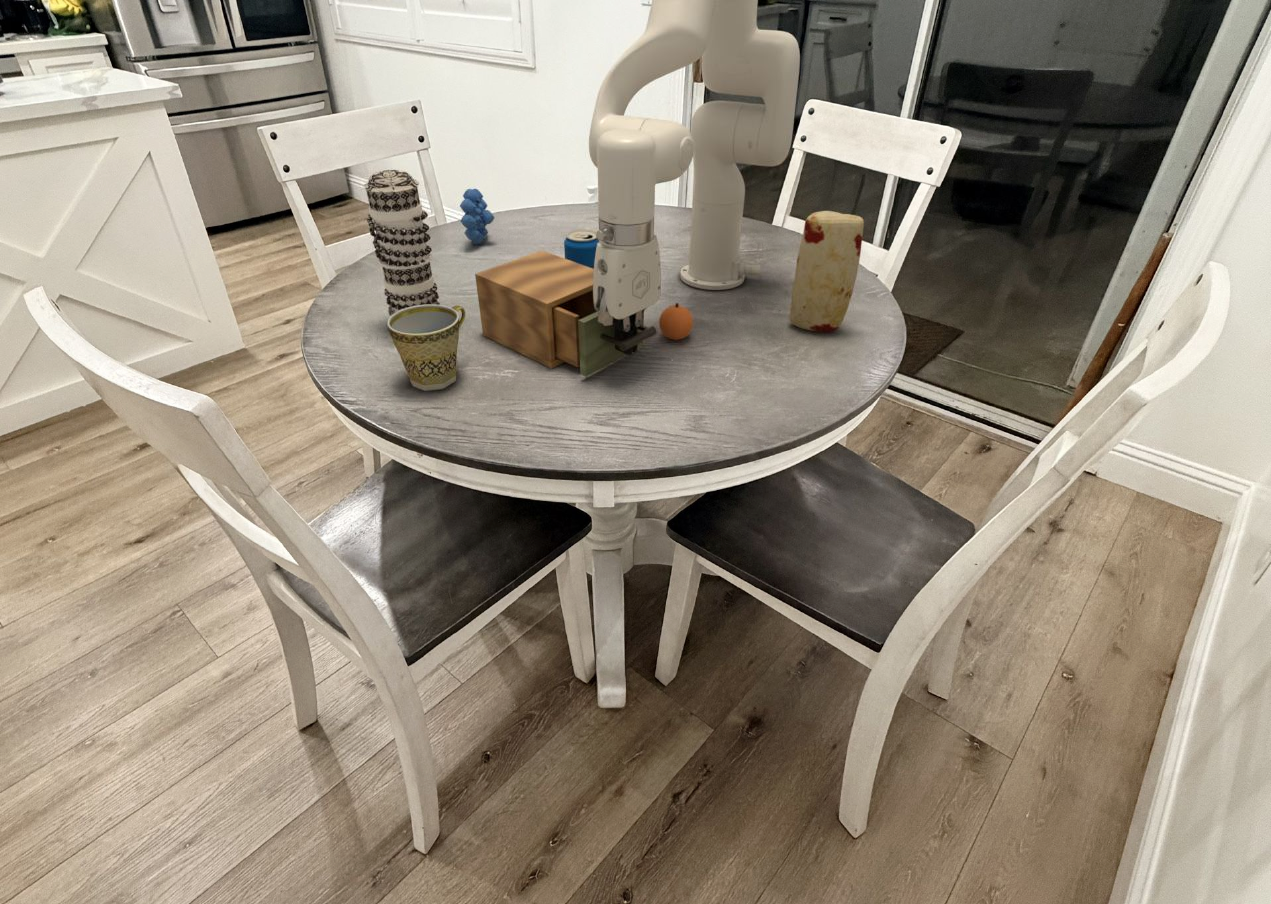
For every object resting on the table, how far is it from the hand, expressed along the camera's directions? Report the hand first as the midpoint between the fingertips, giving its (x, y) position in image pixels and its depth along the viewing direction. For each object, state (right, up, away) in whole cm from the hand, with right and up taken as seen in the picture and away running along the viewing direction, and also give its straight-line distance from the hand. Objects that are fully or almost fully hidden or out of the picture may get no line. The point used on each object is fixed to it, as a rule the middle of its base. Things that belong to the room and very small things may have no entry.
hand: (626, 350), depth 106 cm
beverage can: (-8, +13, +24) cm, 28 cm away
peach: (+8, +6, +10) cm, 14 cm away
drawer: (-5, +1, +6) cm, 8 cm away
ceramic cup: (-28, -4, +1) cm, 28 cm away
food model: (+33, +6, +15) cm, 36 cm away
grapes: (-32, +30, +47) cm, 64 cm away
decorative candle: (-36, +6, +14) cm, 39 cm away
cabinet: (-13, +4, +12) cm, 18 cm away
